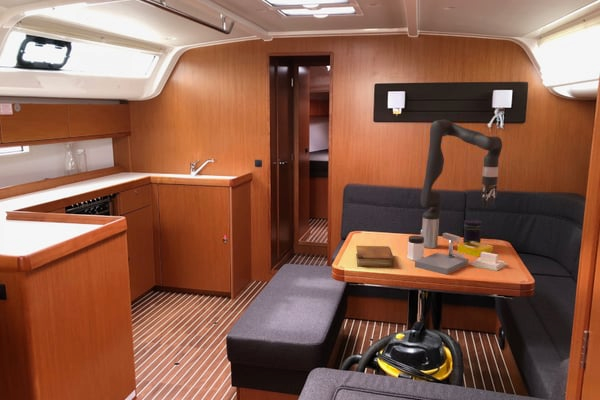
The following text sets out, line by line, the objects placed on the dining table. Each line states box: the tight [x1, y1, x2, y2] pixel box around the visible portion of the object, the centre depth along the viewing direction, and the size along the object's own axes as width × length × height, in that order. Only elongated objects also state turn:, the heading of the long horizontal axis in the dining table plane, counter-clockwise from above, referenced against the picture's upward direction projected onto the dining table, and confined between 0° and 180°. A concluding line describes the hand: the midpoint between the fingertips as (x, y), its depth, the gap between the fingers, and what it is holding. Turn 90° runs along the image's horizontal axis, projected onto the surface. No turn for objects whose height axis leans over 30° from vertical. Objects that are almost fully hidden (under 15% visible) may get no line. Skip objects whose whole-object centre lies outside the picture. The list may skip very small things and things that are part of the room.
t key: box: [442, 232, 465, 258], centre depth 253 cm, size 2×14×11 cm, turn 26°
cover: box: [472, 252, 505, 268], centre depth 251 cm, size 12×10×6 cm
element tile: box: [456, 241, 494, 258], centre depth 276 cm, size 15×15×5 cm
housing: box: [414, 252, 470, 276], centre depth 250 cm, size 18×23×3 cm
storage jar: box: [462, 219, 483, 243], centre depth 288 cm, size 10×10×15 cm
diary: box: [356, 245, 395, 269], centre depth 259 cm, size 23×19×6 cm
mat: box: [469, 262, 508, 272], centre depth 251 cm, size 14×14×1 cm
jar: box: [406, 235, 425, 262], centre depth 262 cm, size 9×8×12 cm
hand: (488, 206), depth 252 cm, fingers open, 8 cm apart
